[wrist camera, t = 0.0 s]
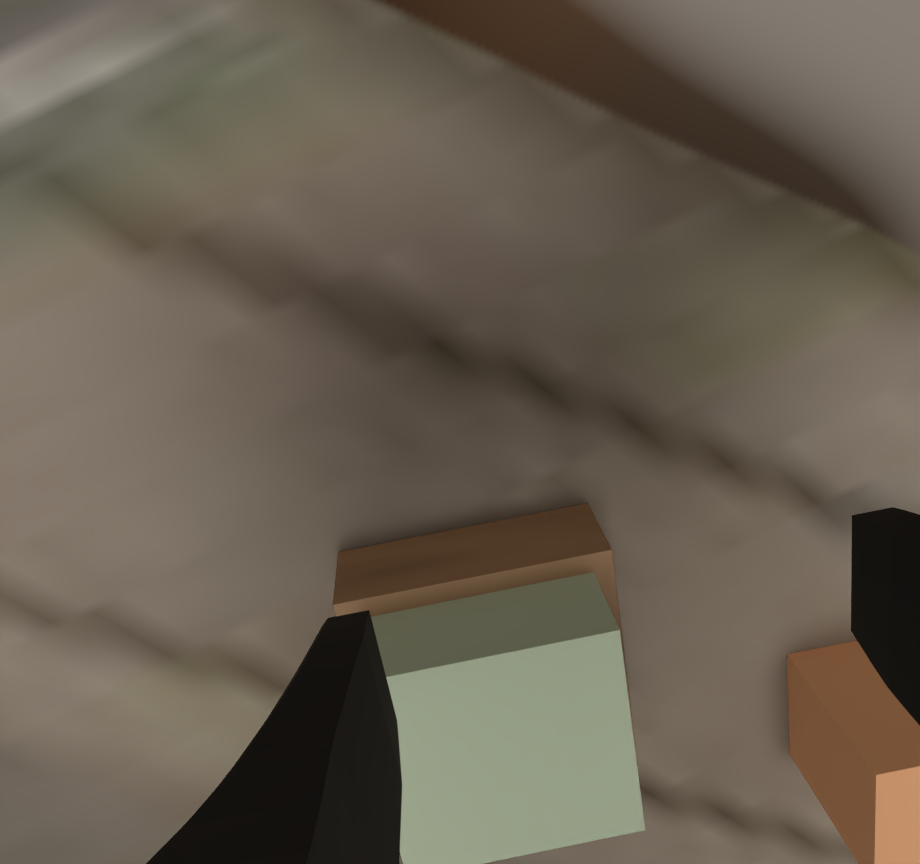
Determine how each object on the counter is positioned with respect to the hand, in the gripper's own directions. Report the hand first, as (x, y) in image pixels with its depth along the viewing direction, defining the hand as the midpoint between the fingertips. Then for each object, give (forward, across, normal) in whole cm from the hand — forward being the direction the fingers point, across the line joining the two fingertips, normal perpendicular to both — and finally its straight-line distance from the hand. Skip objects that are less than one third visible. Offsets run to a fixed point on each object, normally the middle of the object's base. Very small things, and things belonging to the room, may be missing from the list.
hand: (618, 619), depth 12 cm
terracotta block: (+10, -9, +12) cm, 18 cm away
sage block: (+8, +2, +7) cm, 10 cm away
